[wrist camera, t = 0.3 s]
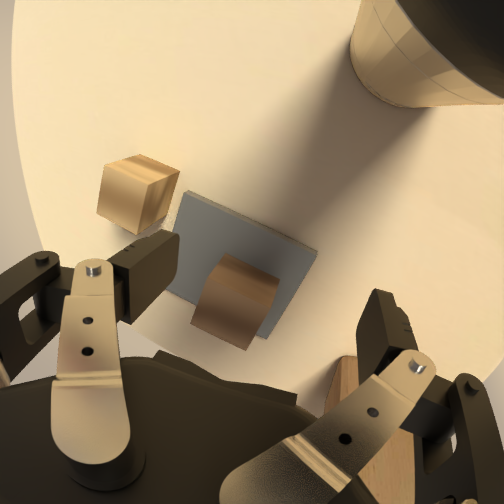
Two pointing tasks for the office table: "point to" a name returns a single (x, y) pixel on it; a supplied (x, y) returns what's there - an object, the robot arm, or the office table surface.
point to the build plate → (235, 252)
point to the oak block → (136, 192)
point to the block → (389, 456)
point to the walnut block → (235, 301)
